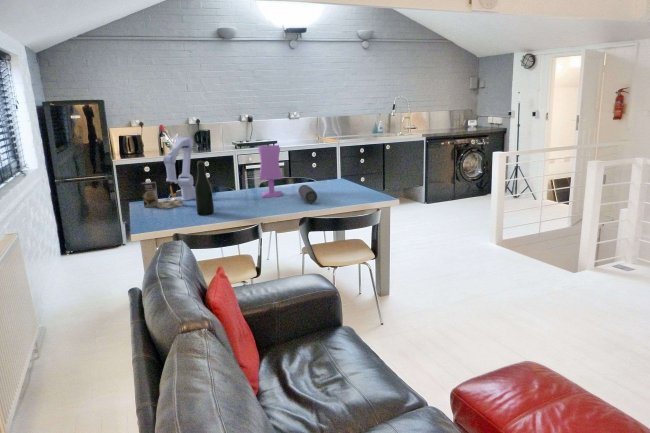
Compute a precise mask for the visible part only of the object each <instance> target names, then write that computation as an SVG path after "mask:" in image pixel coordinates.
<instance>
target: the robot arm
mask: <svg viewBox="0 0 650 433" xmlns="http://www.w3.org/2000/svg"><path fill="white" fill-rule="evenodd" d="M193 148H194V140H193V138H192V137H191V136H189V137H188V136H187V137H180V136H179V137H177V139H176V144H175V146H174V147H173V148H171V149H170V150H169V151H168V153H167V154H165V155H164V156H163V164H164V166H165V169H166V178H165V179H166V180H165V181H166V185H167V187H168V189H169V191H170V193H171V188H172V192H173V193H176V194H177V190H178V186H179V188H180V191H181V197H180V198H179V200H181V201H184V202H185V201H190V200H196V195H195V187H196V186H194V177H193V175H192V174H191V173H190V172H191V157H192V150H193ZM180 151H183V155H182V157H183V158H182V169H181V170H182V171H181V173H180V174H179V175H178V178H177V173H176V163H177V162H176V161H177V157H178V156H179V155H180ZM170 182H172V183H170ZM170 186H171V188H170Z"/></svg>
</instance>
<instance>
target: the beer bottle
mask: <svg viewBox="0 0 650 433" xmlns="http://www.w3.org/2000/svg"><path fill="white" fill-rule="evenodd" d="M196 166H197V180H196V183H195V186H194V187H195V195H196V199H195V206H196V214H197V215H198V216H209V215H212V214H214V213H215V204H214V196H213V189H212V186H211V185H212V184H211V183H210V181H209V179H208V177H207V173H206V167H205V166H206V165H205V162H204V161H203V160H199V161H197V164H196Z"/></svg>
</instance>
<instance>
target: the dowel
mask: <svg viewBox="0 0 650 433" xmlns="http://www.w3.org/2000/svg"><path fill="white" fill-rule="evenodd" d="M170 183H172V182H170ZM170 188H171V186H170ZM170 195H171V198H177V192H176V193H173V192H172V188H171V192H170Z"/></svg>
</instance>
